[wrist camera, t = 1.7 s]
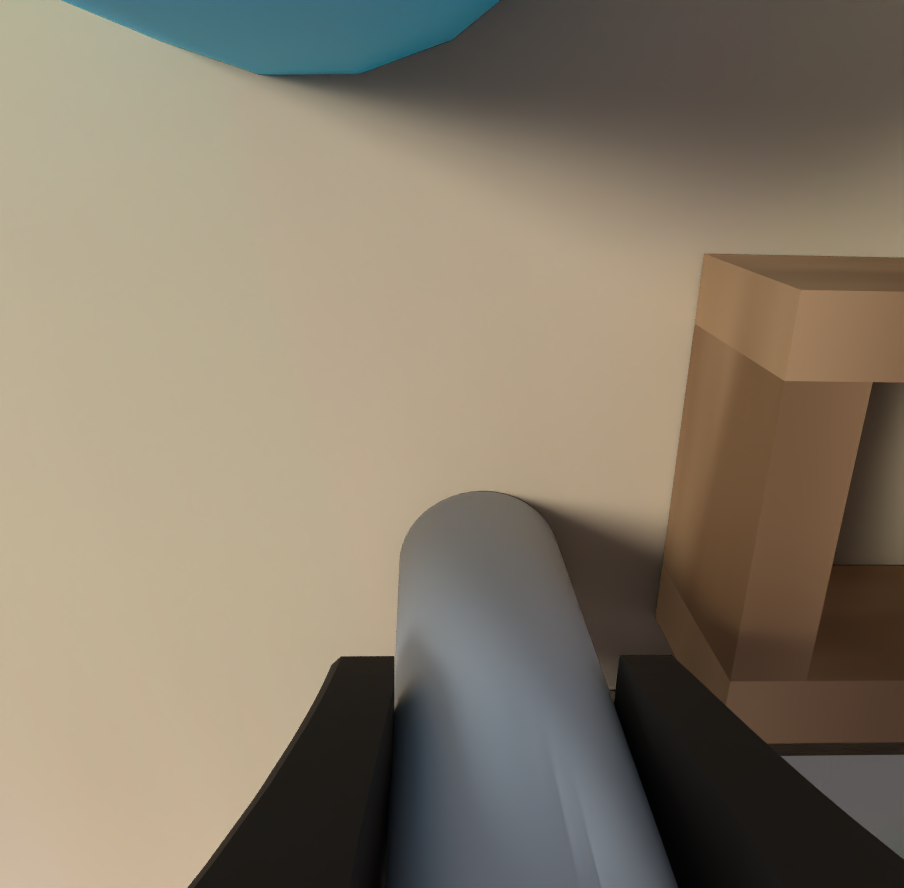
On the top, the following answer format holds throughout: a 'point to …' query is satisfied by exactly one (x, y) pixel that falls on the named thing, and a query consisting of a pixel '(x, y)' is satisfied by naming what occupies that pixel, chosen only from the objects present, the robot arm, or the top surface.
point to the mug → (296, 29)
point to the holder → (785, 499)
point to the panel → (856, 781)
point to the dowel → (506, 718)
